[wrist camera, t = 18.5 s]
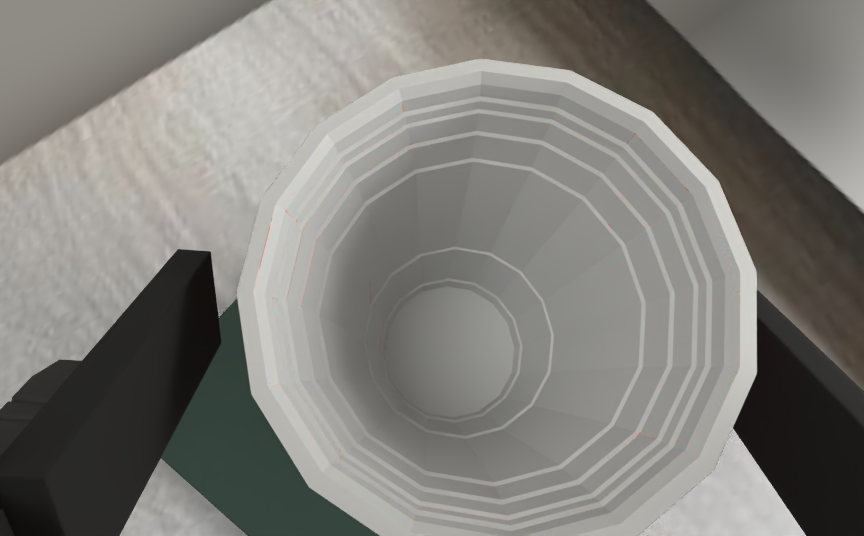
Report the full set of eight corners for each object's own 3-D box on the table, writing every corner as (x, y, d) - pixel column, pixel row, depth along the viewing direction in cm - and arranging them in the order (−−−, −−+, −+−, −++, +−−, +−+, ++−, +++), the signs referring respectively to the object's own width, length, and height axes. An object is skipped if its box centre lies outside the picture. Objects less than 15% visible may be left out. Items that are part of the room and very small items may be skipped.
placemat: (127, 422, 21) (120, 422, 21) (438, 89, 26) (439, 81, 26) (446, 707, 19) (448, 716, 19) (712, 289, 25) (720, 286, 24)
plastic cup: (314, 229, 23) (239, 42, 12) (557, 226, 24) (709, 50, 13) (308, 498, 20) (202, 601, 9) (585, 484, 21) (816, 559, 10)
